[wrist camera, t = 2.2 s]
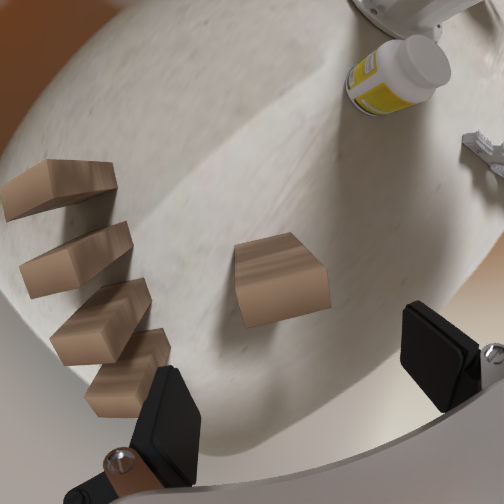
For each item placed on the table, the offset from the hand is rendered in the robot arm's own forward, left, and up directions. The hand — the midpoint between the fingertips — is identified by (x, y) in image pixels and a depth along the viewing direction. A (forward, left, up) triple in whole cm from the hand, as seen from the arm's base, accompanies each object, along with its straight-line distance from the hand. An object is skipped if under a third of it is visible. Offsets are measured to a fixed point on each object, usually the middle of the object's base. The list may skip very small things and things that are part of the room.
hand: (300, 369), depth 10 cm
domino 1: (-10, -14, -15) cm, 23 cm away
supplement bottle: (-13, +13, -16) cm, 24 cm away
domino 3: (+1, -14, -15) cm, 20 cm away
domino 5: (0, 0, -15) cm, 15 cm away
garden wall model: (-5, +30, -16) cm, 35 cm away
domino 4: (+6, -14, -15) cm, 21 cm away
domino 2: (-5, -14, -15) cm, 21 cm away
